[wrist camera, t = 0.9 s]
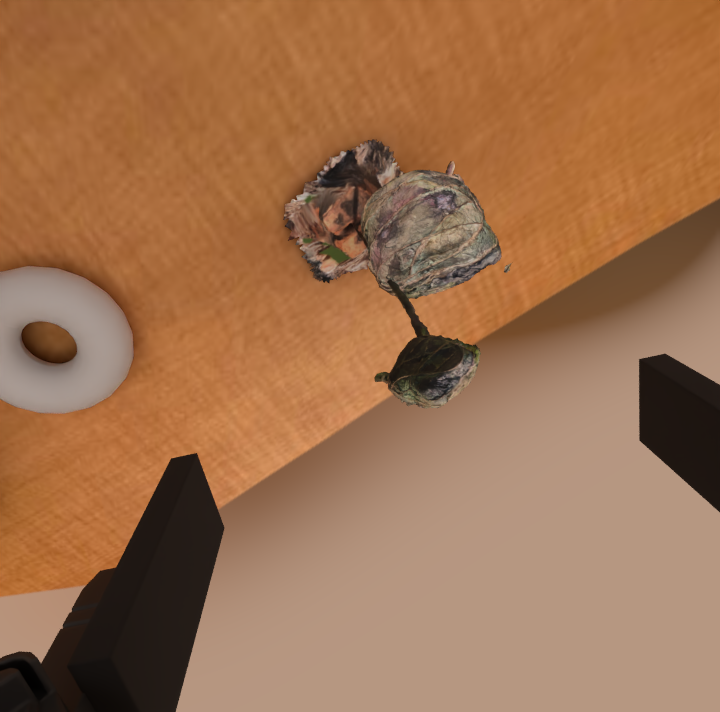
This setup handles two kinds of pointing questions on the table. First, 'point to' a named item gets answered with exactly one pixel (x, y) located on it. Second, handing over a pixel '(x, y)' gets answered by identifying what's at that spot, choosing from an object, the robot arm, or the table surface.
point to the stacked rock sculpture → (399, 252)
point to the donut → (84, 323)
